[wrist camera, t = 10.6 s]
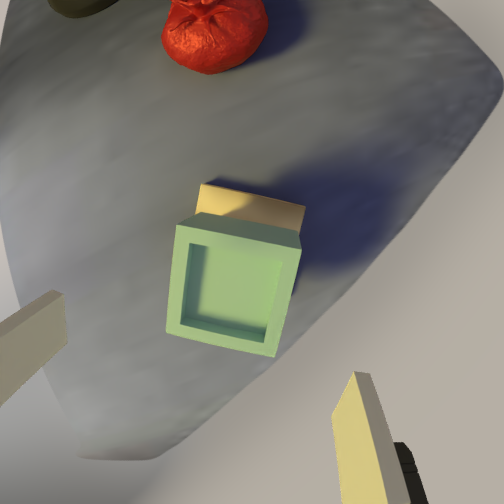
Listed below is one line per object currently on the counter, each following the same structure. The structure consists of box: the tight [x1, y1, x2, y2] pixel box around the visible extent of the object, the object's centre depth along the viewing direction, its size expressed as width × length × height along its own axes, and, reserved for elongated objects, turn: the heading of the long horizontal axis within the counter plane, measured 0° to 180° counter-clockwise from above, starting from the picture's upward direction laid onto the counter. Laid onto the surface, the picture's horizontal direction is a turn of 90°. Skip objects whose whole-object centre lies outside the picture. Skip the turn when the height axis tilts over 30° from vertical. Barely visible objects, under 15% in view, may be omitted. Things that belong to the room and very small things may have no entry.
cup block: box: [166, 212, 302, 357], centre depth 23 cm, size 8×8×6 cm
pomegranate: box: [161, 0, 268, 75], centre depth 22 cm, size 10×10×9 cm
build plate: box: [195, 184, 306, 235], centre depth 29 cm, size 10×10×6 cm
